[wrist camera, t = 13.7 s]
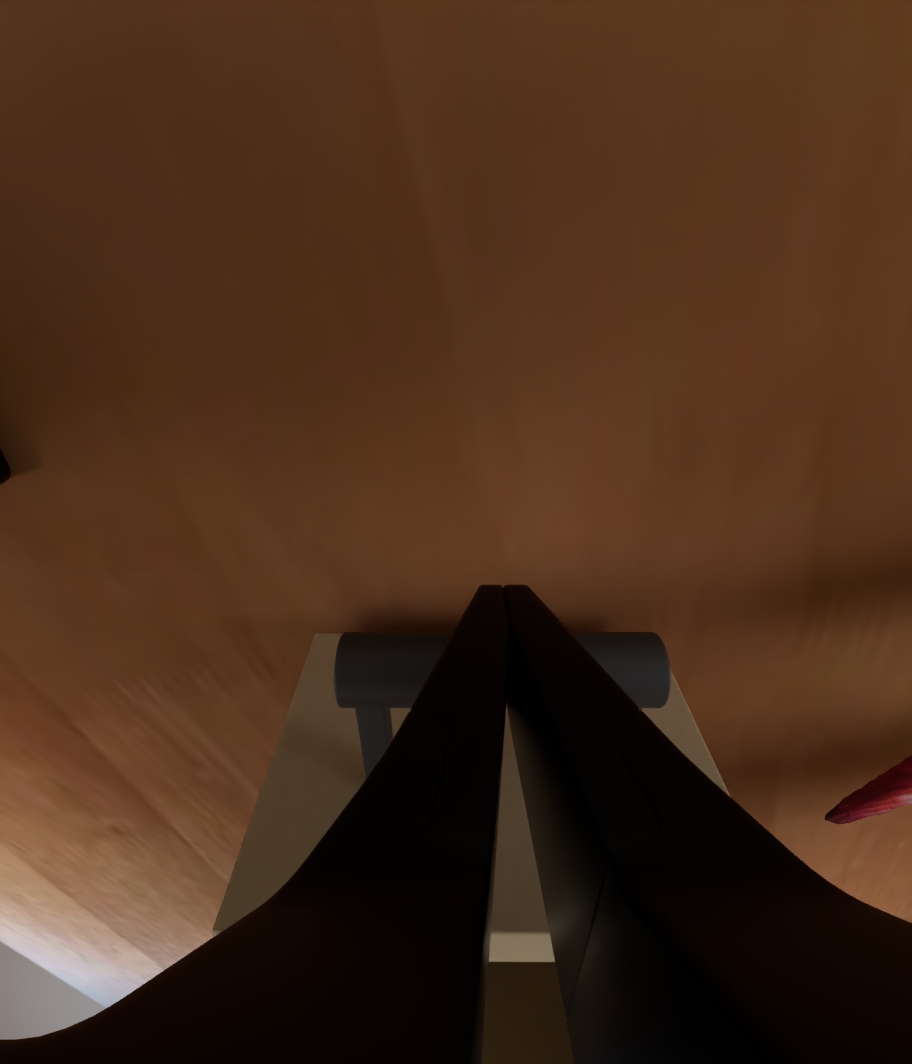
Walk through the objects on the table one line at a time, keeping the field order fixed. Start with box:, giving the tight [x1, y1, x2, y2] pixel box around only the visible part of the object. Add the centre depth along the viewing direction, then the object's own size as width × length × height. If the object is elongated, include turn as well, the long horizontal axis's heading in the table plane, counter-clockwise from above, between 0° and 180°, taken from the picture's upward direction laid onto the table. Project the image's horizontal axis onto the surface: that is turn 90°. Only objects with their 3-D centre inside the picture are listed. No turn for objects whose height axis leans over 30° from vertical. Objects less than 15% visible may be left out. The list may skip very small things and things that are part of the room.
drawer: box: [212, 632, 730, 1064], centre depth 14 cm, size 15×10×8 cm
